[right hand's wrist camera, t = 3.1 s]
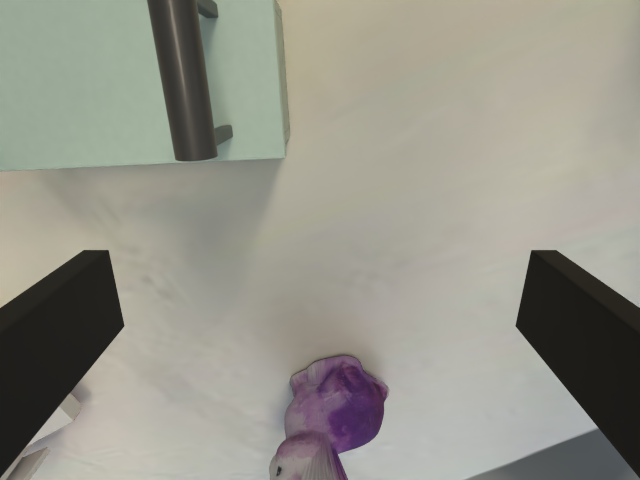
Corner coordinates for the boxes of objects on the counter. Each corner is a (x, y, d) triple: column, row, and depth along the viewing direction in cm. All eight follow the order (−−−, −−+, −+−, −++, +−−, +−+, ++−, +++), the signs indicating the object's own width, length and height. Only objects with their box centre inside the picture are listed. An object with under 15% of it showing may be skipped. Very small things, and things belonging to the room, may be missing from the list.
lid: (272, -27, 21) (245, -90, 14) (286, 156, 25) (271, 187, 17) (-55, -9, 22) (-258, -60, 14) (5, 169, 25) (-132, 205, 18)
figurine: (270, 396, 45) (247, 535, 31) (323, 335, 42) (324, 458, 28) (336, 433, 47) (343, 579, 33) (391, 377, 44) (424, 512, 30)
